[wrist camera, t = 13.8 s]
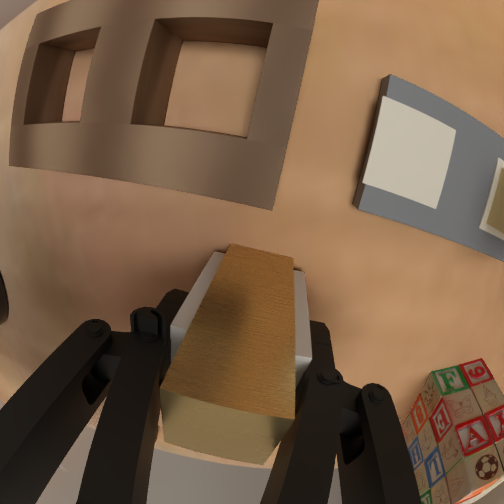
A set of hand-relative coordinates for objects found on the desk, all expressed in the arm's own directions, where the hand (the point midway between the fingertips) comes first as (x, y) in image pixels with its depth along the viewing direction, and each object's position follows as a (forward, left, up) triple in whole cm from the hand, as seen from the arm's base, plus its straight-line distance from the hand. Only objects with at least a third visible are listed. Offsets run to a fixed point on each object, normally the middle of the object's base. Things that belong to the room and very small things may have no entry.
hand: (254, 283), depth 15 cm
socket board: (-8, +10, -1) cm, 13 cm away
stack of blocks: (+22, -14, -1) cm, 26 cm away
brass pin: (0, 0, -1) cm, 1 cm away
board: (+10, +9, -1) cm, 13 cm away
